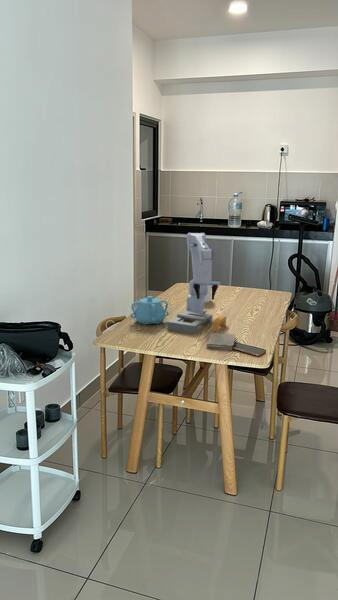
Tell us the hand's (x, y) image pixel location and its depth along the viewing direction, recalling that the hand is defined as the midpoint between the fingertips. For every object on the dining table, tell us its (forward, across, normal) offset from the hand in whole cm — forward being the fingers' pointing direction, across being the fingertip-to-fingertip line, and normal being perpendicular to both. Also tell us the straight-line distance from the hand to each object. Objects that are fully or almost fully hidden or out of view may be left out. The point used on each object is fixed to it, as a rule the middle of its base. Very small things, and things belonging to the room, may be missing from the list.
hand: (205, 299), depth 246 cm
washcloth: (+15, +15, -30) cm, 37 cm away
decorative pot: (+12, -27, -11) cm, 31 cm away
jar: (+9, -13, +42) cm, 45 cm away
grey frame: (+12, -5, -10) cm, 17 cm away
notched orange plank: (+13, +9, -8) cm, 18 cm away
